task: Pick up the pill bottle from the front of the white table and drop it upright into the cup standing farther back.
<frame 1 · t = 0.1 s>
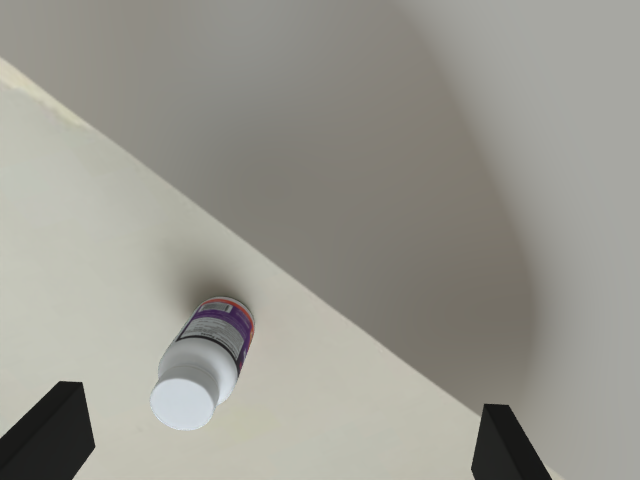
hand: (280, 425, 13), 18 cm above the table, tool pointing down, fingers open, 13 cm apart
pill bottle: (225, 321, 33), on the table
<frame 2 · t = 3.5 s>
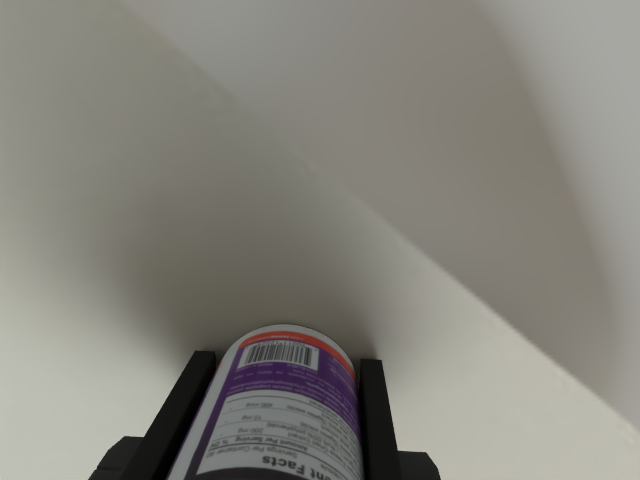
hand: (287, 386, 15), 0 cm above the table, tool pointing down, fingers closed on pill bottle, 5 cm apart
pill bottle: (289, 377, 15), on the table, touching gripper
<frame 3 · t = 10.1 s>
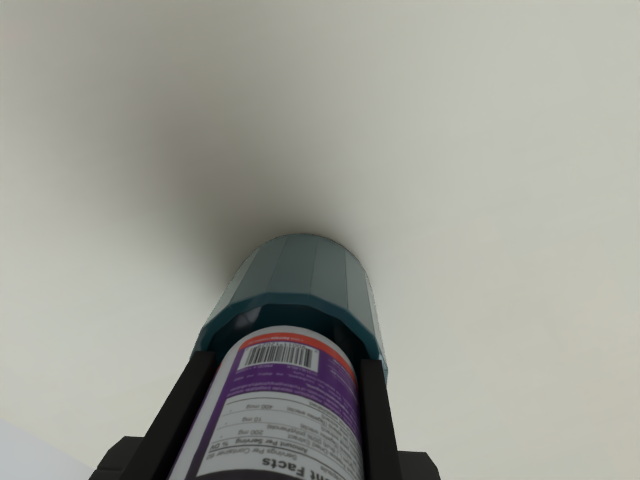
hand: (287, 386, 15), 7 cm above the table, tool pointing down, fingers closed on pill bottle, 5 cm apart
pill bottle: (289, 378, 15), point 7 cm above the table, touching gripper
cup: (302, 298, 21), on the table
when the fingers open (8 cm above the table, at t = 15.3 s): pill bottle drops 8 cm, resting on cup.
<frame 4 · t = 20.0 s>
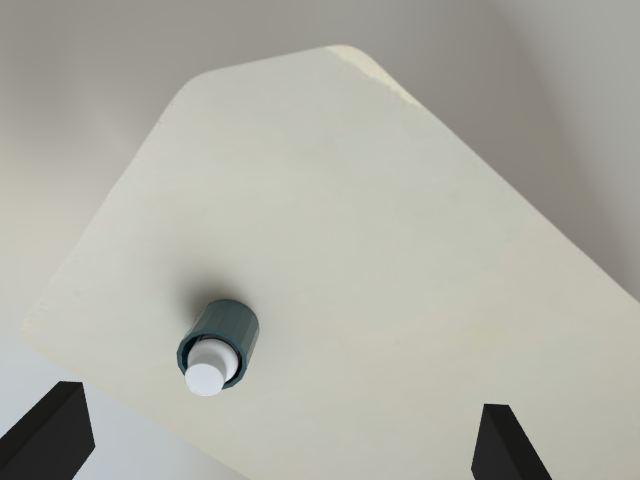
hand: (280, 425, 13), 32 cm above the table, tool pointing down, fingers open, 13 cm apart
pill bottle: (229, 327, 48), resting on cup
cup: (229, 326, 48), on the table
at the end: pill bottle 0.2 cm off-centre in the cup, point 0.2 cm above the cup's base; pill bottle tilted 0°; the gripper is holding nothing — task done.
